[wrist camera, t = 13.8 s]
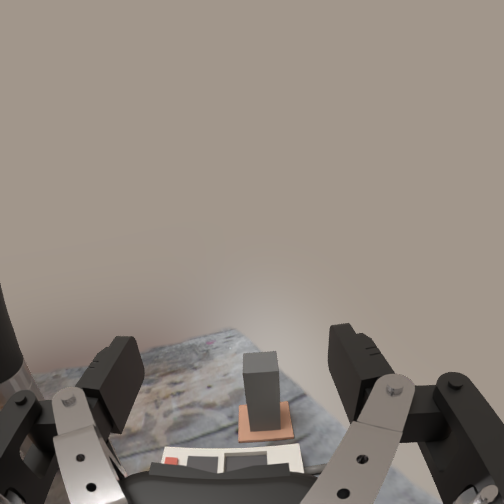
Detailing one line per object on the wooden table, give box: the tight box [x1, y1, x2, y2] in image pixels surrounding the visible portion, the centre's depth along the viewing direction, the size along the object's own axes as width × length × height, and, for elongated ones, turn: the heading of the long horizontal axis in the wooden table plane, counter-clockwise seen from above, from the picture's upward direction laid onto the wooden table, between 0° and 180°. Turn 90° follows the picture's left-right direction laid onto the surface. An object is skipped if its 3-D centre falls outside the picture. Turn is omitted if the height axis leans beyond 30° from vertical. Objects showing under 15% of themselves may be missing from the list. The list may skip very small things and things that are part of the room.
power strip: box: [161, 443, 328, 474], centre depth 29 cm, size 22×7×4 cm, turn 91°
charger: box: [243, 351, 281, 432], centre depth 38 cm, size 4×5×12 cm
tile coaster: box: [238, 401, 294, 443], centre depth 40 cm, size 8×8×1 cm
